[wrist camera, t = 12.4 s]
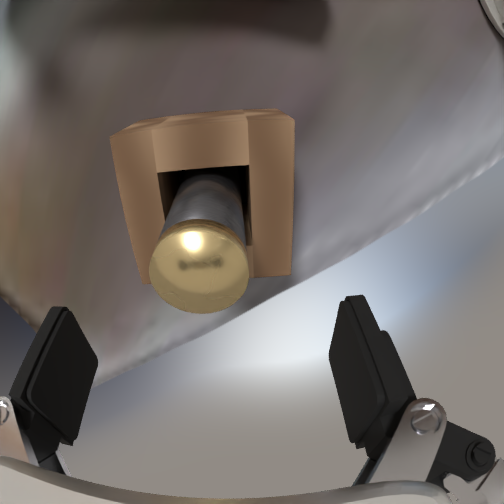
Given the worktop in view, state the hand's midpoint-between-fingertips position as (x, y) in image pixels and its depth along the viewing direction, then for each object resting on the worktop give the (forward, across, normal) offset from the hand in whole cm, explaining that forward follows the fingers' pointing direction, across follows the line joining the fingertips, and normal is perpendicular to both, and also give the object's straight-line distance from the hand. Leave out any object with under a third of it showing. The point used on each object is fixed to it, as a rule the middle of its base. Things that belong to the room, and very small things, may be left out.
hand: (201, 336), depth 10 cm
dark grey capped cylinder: (+18, +1, +1) cm, 18 cm away
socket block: (+18, +1, +1) cm, 18 cm away
